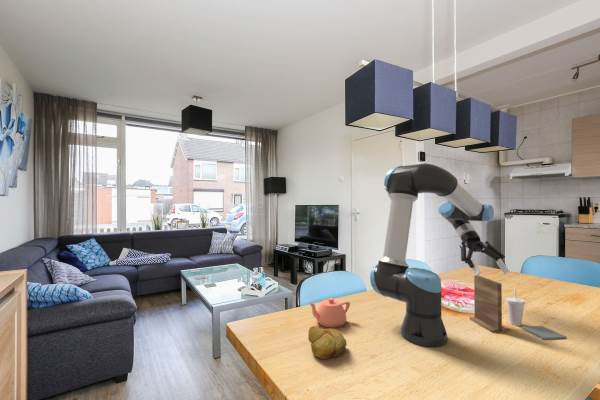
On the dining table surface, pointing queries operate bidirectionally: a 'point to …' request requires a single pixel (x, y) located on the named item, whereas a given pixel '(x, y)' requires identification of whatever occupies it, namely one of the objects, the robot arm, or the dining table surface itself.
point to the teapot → (330, 312)
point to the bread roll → (326, 342)
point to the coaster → (543, 332)
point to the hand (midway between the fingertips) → (492, 273)
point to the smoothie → (515, 309)
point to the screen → (488, 304)
